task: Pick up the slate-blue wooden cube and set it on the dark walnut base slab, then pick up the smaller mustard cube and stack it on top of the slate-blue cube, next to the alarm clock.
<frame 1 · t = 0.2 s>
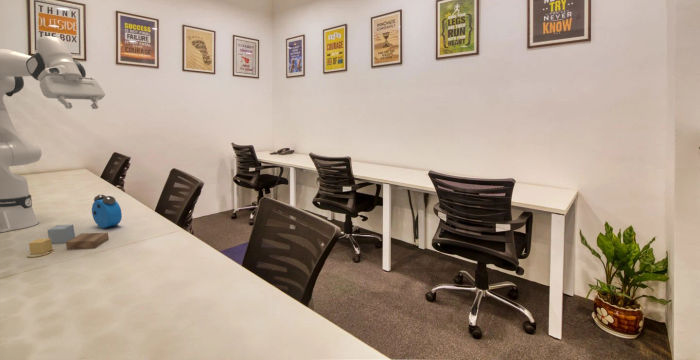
hand: (83, 108, 132), 54 cm above the table, tool tilted 30°, fingers open, 8 cm apart
walnut base: (88, 244, 139), on the table
mustard cube: (41, 252, 131), on the table
alarm clock: (108, 227, 161), on the table
slate cube: (62, 240, 143), on the table
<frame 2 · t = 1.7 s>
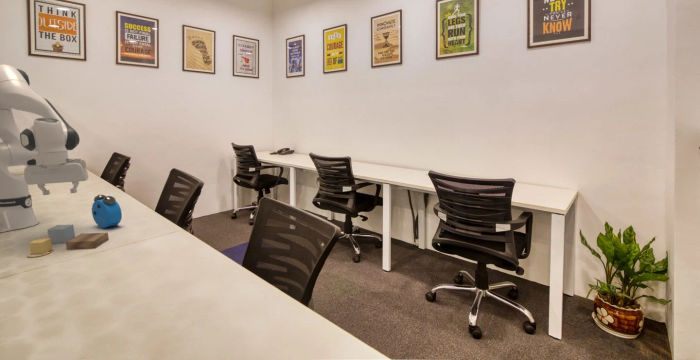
hand: (60, 193, 139), 20 cm above the table, tool pointing down, fingers open, 8 cm apart
nothing on the table moved.
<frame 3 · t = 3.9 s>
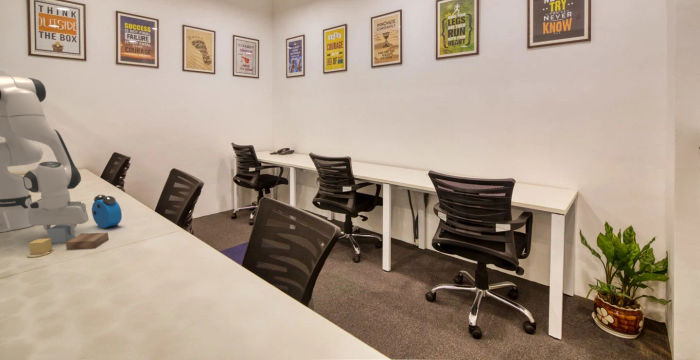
hand: (61, 234, 142), 3 cm above the table, tool pointing down, fingers closed on slate cube, 6 cm apart
slate cube: (62, 240, 143), on the table, touching gripper
everything else where it was.
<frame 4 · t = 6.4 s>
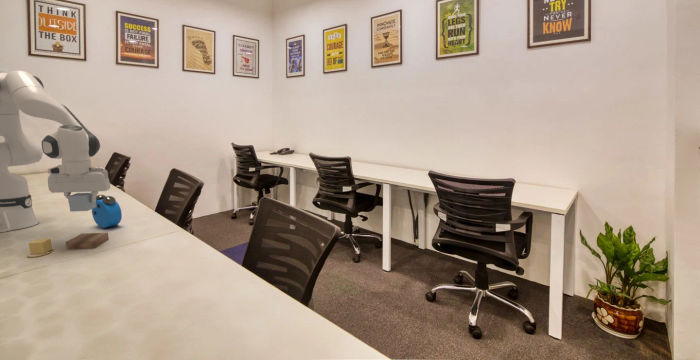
hand: (82, 202, 136), 17 cm above the table, tool pointing down, fingers closed on slate cube, 6 cm apart
slate cube: (83, 209, 136), point 15 cm above the table, touching gripper
everything else where it was.
when the fingers open (7 cm above the table, at t = 8.8 s): slate cube stays where it is, resting on walnut base.
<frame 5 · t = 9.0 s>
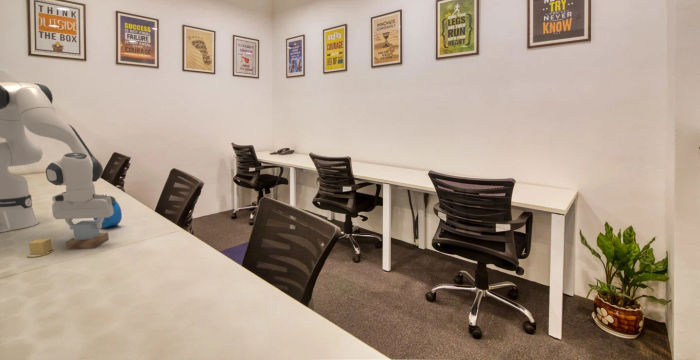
hand: (86, 228, 138), 7 cm above the table, tool pointing down, fingers open, 8 cm apart
slate cube: (87, 237, 138), point 3 cm above the table, touching walnut base
everything else where it was.
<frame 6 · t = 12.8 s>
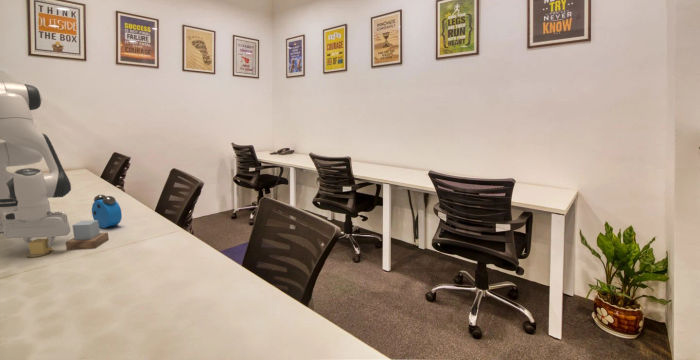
hand: (41, 247, 131), 2 cm above the table, tool pointing down, fingers closed on mustard cube, 4 cm apart
mustard cube: (41, 251, 131), on the table, touching gripper
everything else where it was.
when the fingers open (12 cm above the table, at t = 17.5 s): mustard cube stays where it is, resting on slate cube.
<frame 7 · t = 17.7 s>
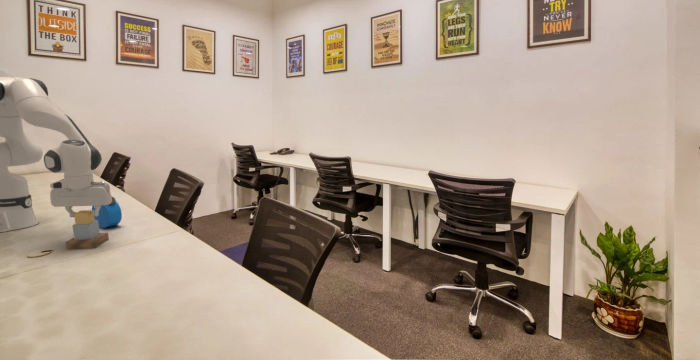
hand: (84, 216, 137), 12 cm above the table, tool pointing down, fingers open, 7 cm apart
mustard cube: (85, 222, 137), point 9 cm above the table, touching slate cube
slate cube: (87, 237, 138), point 3 cm above the table, touching mustard cube, walnut base
everything else where it was.
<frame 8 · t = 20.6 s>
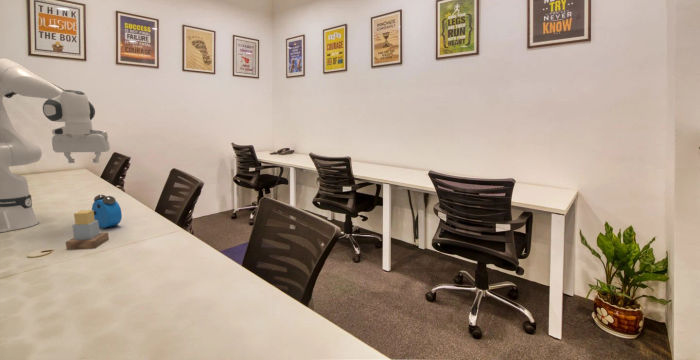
hand: (84, 162, 147), 31 cm above the table, tool pointing down, fingers open, 8 cm apart
nothing on the table moved.
at the end: slate cube inside the target area on the walnut base (0.0 cm from its centre), point 3.0 cm above the walnut base's base; mustard cube 0.1 cm off-centre on the slate cube, point 6.0 cm above the slate cube's base; mustard cube point 9.0 cm above the table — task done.
